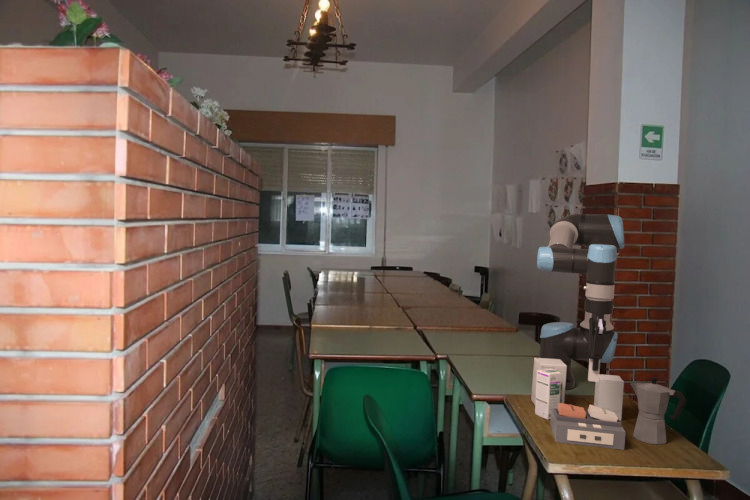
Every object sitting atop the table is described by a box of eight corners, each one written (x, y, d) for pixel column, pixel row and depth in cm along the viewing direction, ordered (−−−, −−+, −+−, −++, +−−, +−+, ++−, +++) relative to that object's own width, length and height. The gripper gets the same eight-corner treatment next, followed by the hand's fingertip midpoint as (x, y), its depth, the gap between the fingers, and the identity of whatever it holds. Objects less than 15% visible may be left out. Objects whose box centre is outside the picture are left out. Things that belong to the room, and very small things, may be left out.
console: (550, 424, 175) (551, 404, 174) (613, 431, 171) (614, 410, 171) (555, 442, 161) (557, 420, 160) (624, 450, 157) (626, 428, 157)
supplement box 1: (536, 408, 189) (539, 363, 188) (530, 400, 198) (533, 357, 197) (564, 410, 188) (567, 365, 187) (557, 401, 197) (560, 358, 196)
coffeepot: (619, 435, 168) (624, 374, 167) (633, 428, 175) (637, 369, 174) (675, 452, 157) (681, 387, 156) (688, 444, 164) (693, 382, 163)
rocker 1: (557, 409, 170) (558, 401, 169) (581, 414, 168) (583, 406, 168) (559, 414, 165) (560, 407, 164) (584, 420, 163) (586, 412, 163)
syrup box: (547, 420, 179) (550, 373, 178) (534, 413, 184) (536, 368, 183) (561, 417, 181) (564, 372, 180) (547, 411, 186) (550, 367, 186)
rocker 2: (587, 410, 168) (590, 403, 168) (612, 418, 167) (614, 411, 167) (590, 416, 163) (593, 409, 163) (615, 424, 162) (618, 417, 162)
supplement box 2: (621, 421, 180) (624, 381, 180) (596, 418, 182) (599, 379, 181) (616, 413, 188) (619, 375, 187) (592, 411, 189) (595, 373, 188)
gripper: (581, 295, 170) (576, 373, 172) (588, 301, 158) (582, 385, 159) (608, 296, 169) (603, 376, 170) (618, 303, 156) (611, 388, 158)
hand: (593, 380), depth 165 cm, fingers closed
